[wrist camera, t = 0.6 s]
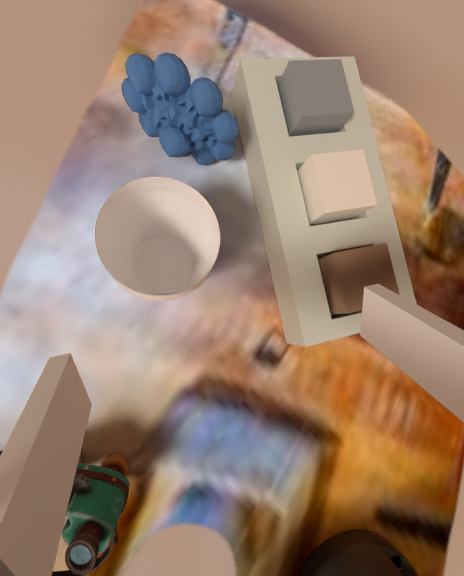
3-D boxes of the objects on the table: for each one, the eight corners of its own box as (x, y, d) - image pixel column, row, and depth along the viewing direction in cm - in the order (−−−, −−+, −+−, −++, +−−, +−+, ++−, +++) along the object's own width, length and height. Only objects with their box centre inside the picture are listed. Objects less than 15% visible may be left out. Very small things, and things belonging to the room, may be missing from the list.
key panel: (387, 317, 38) (419, 317, 33) (286, 343, 35) (305, 346, 30) (331, 88, 40) (354, 56, 35) (231, 93, 37) (240, 59, 32)
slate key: (333, 135, 35) (354, 112, 31) (287, 139, 34) (302, 116, 30) (322, 87, 35) (341, 59, 31) (275, 90, 34) (288, 60, 30)
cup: (174, 210, 34) (176, 153, 22) (219, 276, 34) (246, 253, 22) (103, 253, 32) (64, 214, 20) (152, 322, 32) (141, 324, 20)
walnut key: (374, 303, 34) (401, 300, 30) (327, 314, 32) (349, 313, 29) (362, 251, 34) (386, 242, 30) (315, 260, 33) (334, 252, 29)
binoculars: (-73, 673, 18) (-19, 508, 19) (19, 533, 28) (52, 429, 29) (79, 684, 19) (125, 530, 20) (114, 547, 30) (144, 448, 30)
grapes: (117, 164, 33) (88, 79, 21) (138, 112, 34) (122, 4, 22) (216, 202, 35) (240, 144, 23) (233, 152, 36) (264, 72, 24)
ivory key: (353, 217, 34) (377, 205, 31) (306, 225, 33) (325, 212, 29) (341, 168, 35) (363, 149, 31) (294, 173, 33) (311, 154, 30)
